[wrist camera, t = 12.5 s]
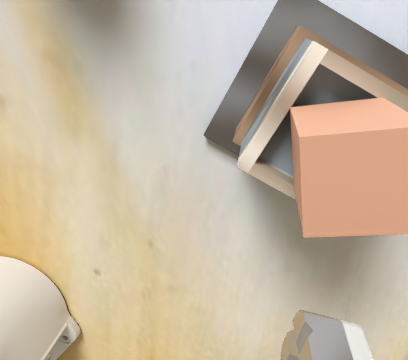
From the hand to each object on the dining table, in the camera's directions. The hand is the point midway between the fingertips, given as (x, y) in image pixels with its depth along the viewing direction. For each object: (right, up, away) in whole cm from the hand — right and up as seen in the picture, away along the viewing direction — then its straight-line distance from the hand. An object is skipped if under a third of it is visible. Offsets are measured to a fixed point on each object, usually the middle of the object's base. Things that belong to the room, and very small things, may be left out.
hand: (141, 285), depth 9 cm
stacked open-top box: (+11, +9, +22) cm, 26 cm away
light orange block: (+9, +5, +12) cm, 16 cm away
